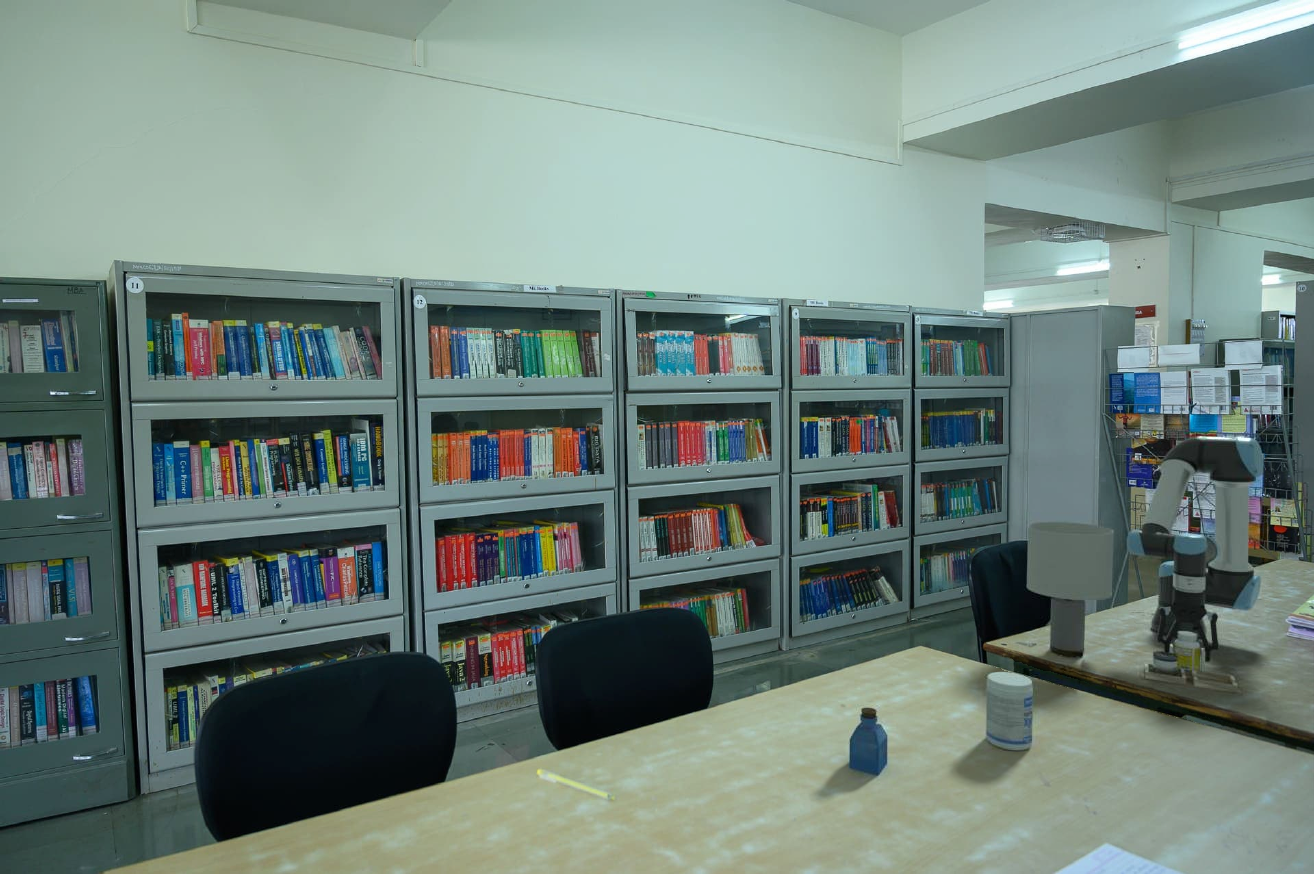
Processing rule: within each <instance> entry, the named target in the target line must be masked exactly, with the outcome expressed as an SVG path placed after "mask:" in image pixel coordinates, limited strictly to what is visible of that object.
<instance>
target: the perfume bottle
mask: <svg viewBox="0 0 1314 874" xmlns="http://www.w3.org/2000/svg"><path fill="white" fill-rule="evenodd" d="M860 711H861V714H860V722H859V724H858V725H857V726H856V727H855V729H854V731H853V733H852V734H851V736H850V738H849V749H848V750H849V754H848V755H849V763H848V764H849V765H848V766H849V767H848V768H849V769H852V770H855V771H858V772H862V773H867V774H871V775H874V776H878V777H879V775H881V773H882V772H883V770H884V769H885V767H886V766H887V764H888V734H887V732H886V731H885V728H884V727H883V726H882V723H881V724H880V723H878V716H877V709H875V708H873V707H862V708H861V709H860Z"/></svg>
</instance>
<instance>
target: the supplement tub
mask: <svg viewBox="0 0 1314 874" xmlns="http://www.w3.org/2000/svg"><path fill="white" fill-rule="evenodd" d="M1033 689H1034V687H1033V680H1032V679H1030V678H1029V677H1027V676H1025V675H1022V674H1019V673H1015V672H1008V671H997V672H996V671H995V672H994V671H993V672H991V673H989V674H987V679H986V694H985V695H986V702H985V703H986V705H985V706H986V707H985V709H986V710H985V711H986V713H985V714H986V715H985V717H986V718H985V737H986V740H987V741H988V742H989V743H990V744H991V745H993V746H995V747H997V748H1000V749H1003V750H1008V751H1024V750H1029V748H1031V747H1032V744H1033V714H1034V713H1033V710H1034V709H1033V707H1034V706H1033V703H1034V701H1033V700H1034V698H1033V697H1034V695H1033V693H1034V692H1033V691H1034V690H1033Z"/></svg>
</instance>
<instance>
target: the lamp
mask: <svg viewBox="0 0 1314 874" xmlns="http://www.w3.org/2000/svg"><path fill="white" fill-rule="evenodd" d="M1114 532H1115V531H1114V530H1113V529H1112V528H1109V527H1105V526H1100V525H1095V524H1088V523H1080V522H1079V523H1077V522H1065V521H1064V522H1063V521H1045V522H1044V521H1042V522H1033V523H1029V524H1028V525H1027V563H1026V566H1027V567H1026V571H1027V572H1026V588H1027V590H1029V591H1031V592H1033V593H1035V594H1039V595H1042V596H1046V597H1050V598H1051V599H1050V601H1051V602H1050V628H1049V629H1050V631H1049V632H1050V633H1049V635H1050V638H1049V639H1050V641H1049V651H1050V652H1051V653H1052V654H1054V653H1055V654H1054V655H1056V654H1057V656H1060V655H1062V656H1061V657H1064V656H1065V657H1066V658H1081V657H1084V653H1085V639H1086V638H1085V637H1086V636H1085V635H1086V634H1085V633H1086V630H1085V628H1086V601H1099V600H1100V601H1101V600H1102V601H1103V600H1107V599H1110V598H1112V596H1113V563H1114V562H1113V561H1114V559H1113V558H1114ZM1065 657H1064V658H1065Z"/></svg>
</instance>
